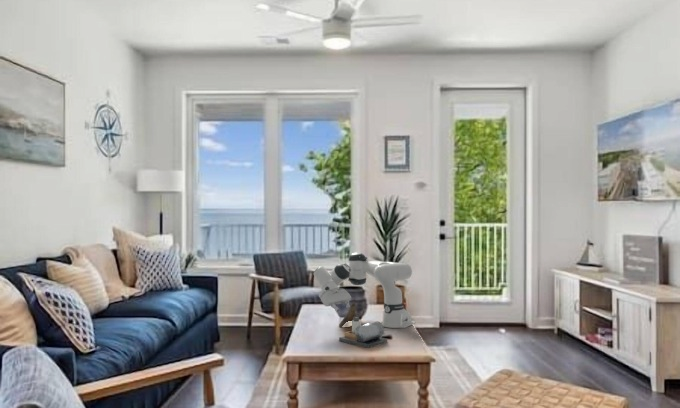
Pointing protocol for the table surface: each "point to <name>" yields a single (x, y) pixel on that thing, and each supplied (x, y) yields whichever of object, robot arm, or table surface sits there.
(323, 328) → the table surface
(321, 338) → the table surface
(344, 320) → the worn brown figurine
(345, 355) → the table surface
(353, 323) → the white capped bottle
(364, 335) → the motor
